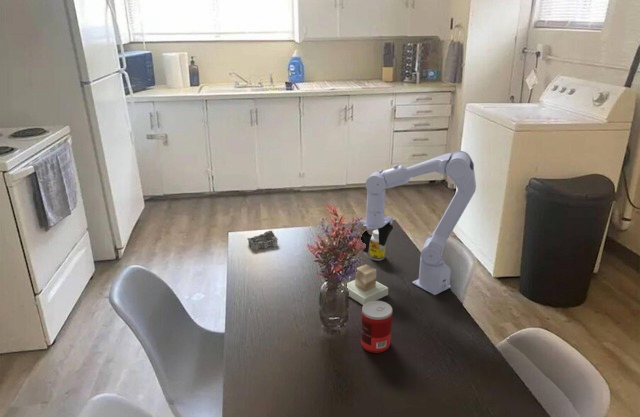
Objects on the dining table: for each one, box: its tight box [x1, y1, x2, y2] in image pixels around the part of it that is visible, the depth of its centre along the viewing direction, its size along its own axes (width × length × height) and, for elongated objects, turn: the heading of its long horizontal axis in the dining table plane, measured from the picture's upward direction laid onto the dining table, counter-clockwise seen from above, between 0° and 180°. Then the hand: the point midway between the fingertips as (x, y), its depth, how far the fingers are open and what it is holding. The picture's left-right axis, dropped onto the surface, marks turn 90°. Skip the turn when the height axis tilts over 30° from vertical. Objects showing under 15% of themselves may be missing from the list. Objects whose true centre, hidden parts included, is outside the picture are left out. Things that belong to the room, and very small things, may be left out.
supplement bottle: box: [368, 229, 387, 261], centre depth 168 cm, size 6×6×10 cm
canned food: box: [360, 300, 393, 354], centre depth 123 cm, size 8×8×11 cm
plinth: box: [346, 279, 389, 306], centre depth 147 cm, size 10×10×3 cm
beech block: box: [354, 263, 377, 291], centre depth 146 cm, size 4×4×6 cm
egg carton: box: [246, 230, 279, 251], centre depth 180 cm, size 11×8×4 cm
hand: (373, 248), depth 155 cm, fingers open, 7 cm apart
